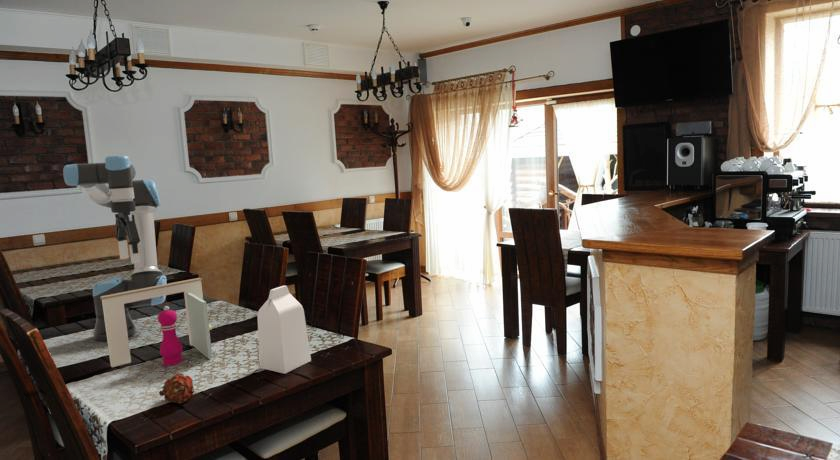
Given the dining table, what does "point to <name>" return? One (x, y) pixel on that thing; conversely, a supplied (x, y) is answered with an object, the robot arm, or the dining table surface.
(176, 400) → the dragon fruit
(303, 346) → the milk
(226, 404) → the dining table surface
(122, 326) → the door frame
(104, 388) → the dining table surface
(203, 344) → the door
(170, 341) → the pepper mill
